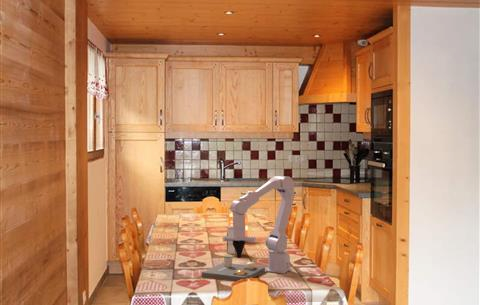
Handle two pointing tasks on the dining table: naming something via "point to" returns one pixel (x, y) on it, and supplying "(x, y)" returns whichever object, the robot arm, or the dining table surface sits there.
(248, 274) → the control panel
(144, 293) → the dining table surface
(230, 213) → the orange juice
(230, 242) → the syrup box
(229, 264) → the pale green slider knob
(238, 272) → the brass button
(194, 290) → the dining table surface
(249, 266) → the white button
